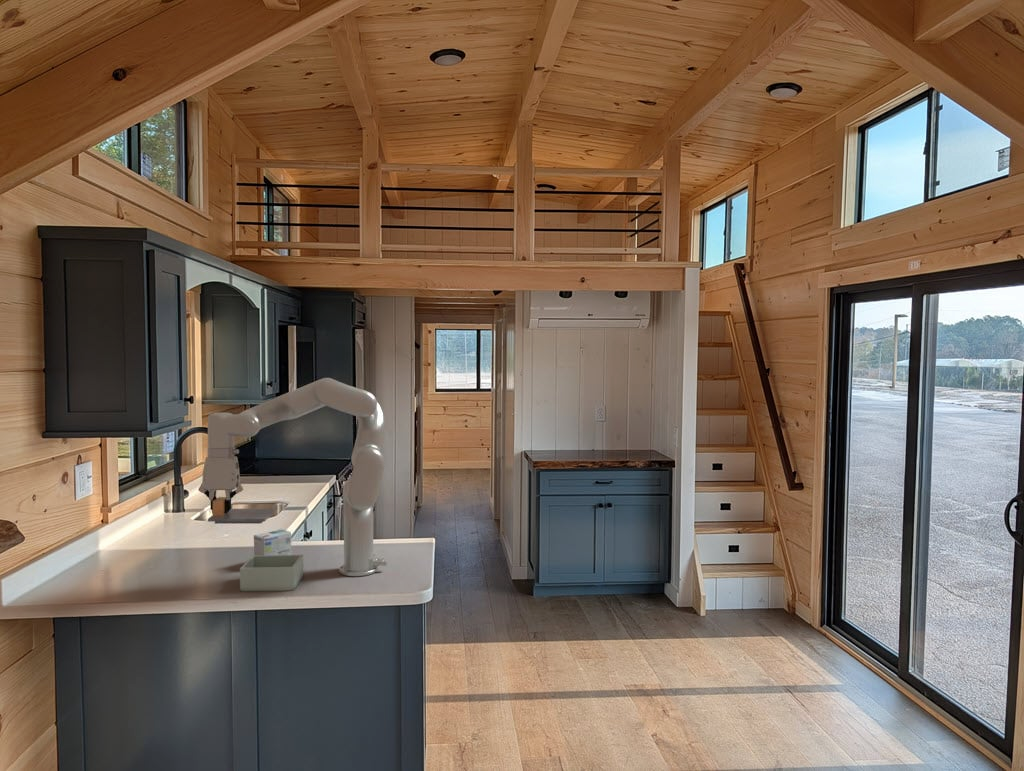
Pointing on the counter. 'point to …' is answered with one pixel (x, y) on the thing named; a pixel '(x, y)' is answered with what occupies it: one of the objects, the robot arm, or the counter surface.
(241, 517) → the snap lid
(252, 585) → the parts tub
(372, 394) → the robot arm
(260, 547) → the light bulb box
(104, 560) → the counter surface
